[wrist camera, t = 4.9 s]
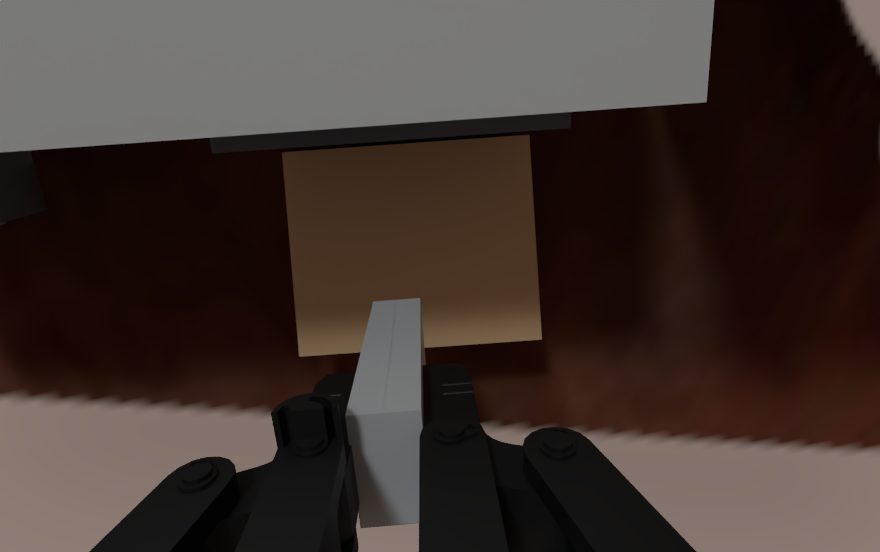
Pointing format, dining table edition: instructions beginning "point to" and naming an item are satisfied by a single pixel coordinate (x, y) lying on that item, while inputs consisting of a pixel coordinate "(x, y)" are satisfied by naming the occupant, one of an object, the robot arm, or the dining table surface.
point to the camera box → (326, 71)
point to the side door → (414, 240)
